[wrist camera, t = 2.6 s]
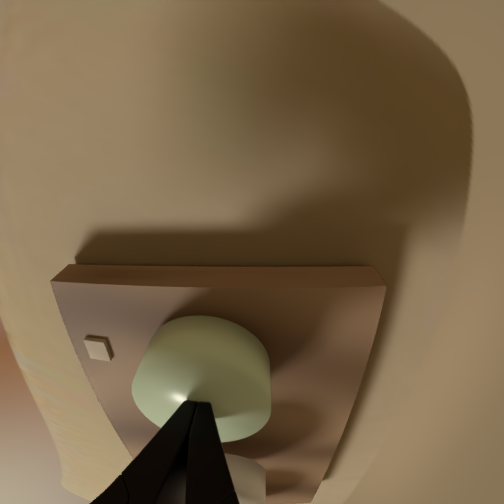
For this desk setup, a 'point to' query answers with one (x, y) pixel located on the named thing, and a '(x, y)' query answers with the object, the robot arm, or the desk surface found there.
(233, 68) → the desk surface
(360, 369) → the console
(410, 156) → the desk surface
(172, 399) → the sage button
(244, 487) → the grey button
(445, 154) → the desk surface
